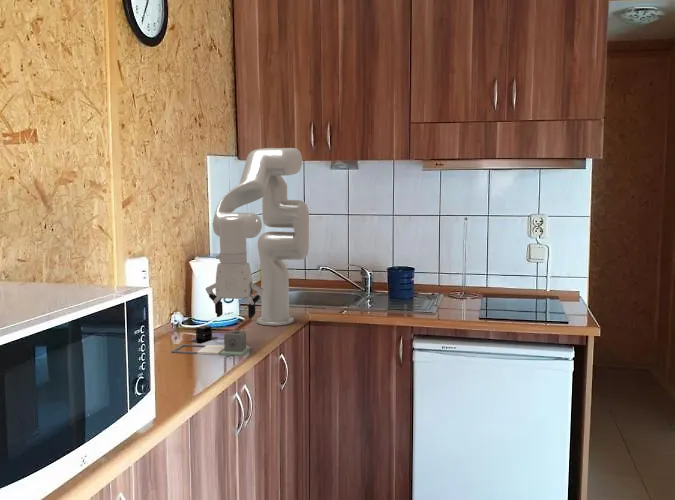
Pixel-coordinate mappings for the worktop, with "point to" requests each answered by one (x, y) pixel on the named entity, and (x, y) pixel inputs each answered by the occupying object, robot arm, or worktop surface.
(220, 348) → the game board
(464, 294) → the worktop surface
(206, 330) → the black angular block
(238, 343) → the dice cube
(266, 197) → the robot arm
